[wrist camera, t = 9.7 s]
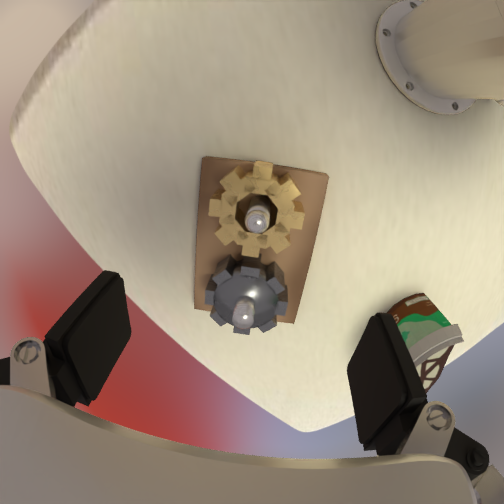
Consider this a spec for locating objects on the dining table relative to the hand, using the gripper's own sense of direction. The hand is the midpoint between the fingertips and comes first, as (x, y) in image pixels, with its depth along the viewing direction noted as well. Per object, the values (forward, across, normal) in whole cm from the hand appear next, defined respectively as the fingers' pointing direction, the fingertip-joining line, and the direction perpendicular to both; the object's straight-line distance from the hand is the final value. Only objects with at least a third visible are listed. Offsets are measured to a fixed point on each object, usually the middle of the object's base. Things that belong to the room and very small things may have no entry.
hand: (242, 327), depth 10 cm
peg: (+16, 0, 0) cm, 16 cm away
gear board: (+18, 0, +5) cm, 18 cm away
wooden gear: (+16, 0, 0) cm, 16 cm away
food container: (+18, -18, +13) cm, 29 cm away
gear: (+16, 0, +9) cm, 19 cm away
